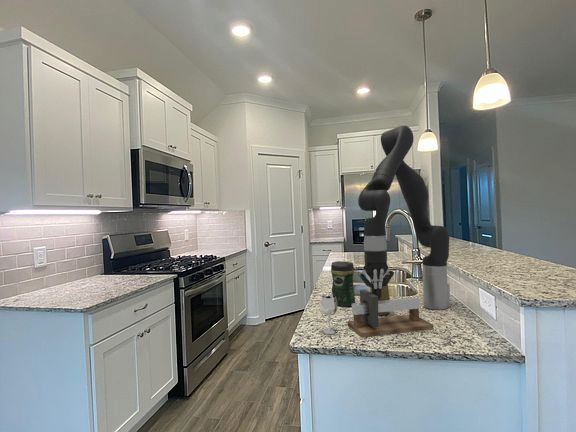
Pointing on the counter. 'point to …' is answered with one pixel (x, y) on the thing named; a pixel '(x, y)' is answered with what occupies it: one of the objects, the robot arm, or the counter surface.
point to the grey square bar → (387, 305)
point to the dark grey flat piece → (370, 308)
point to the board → (390, 324)
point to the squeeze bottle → (383, 296)
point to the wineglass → (329, 309)
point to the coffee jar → (343, 282)
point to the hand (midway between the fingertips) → (376, 298)
